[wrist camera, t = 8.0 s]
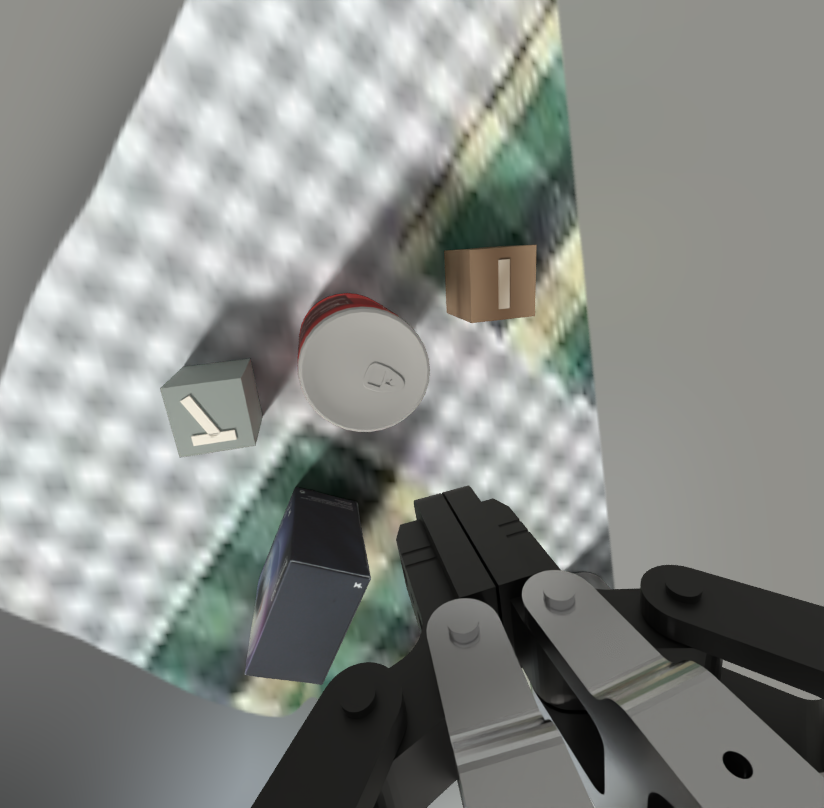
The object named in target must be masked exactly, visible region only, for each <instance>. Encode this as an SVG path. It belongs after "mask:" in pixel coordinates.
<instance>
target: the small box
mask: <svg viewBox="0 0 824 808" xmlns="http://www.w3.org/2000/svg"><path fill="white" fill-rule="evenodd" d="M370 580H371V576H370V571H369V565H368V559H367V554H366V550H365V544H364V539H363V534H362V528H361V523H360V517H359V510H358V503H357V502H356V501H355V502H354V501H353V500H346V499H343V498H338V497H334V496H330V495H326V494H323V493H319V492H316V491H314V490H309V489H303V488H299V487H296V488H295V489H294V491H293V493H292V496H291V499H290V501H289V504H288V506H287V509H286V511H285V514H284V516H283V519H282V521H281V524H280V526H279V529H278V531H277V534H276V536H275V539H274V541H273V544H272V547H271V549H270V552H269V554H268V557H267V559H266V562H265V565H264V567H263V570H262V572H261V575H260V577H259V582H258V588H257V595H256V602H255V608H254V615H253V622H252V628H251V635H250V642H249V649H248V655H247V662H246V669H245V675H249V676H256V677H264V678H272V679H280V680H289V681H297V682H306V683H313V684H320V685H322V684H323V682H324V680H325V678H326V676H327V674H328V672H329V669H330V667H331V665H332V663H333V661H334V659H335V656H336V654H337V652H338V650H339V648H340V645H341V643H342V641H343V639H344V637H345V635H346V632H347V630H348V628H349V626H350V624H351V621H352V619H353V617H354V615H355V613H356V611H357V608H358V606H359V604H360V602H361V600H362V597H363V595H364V593H365V591H366V589H367V586H368V584H369V582H370Z"/></svg>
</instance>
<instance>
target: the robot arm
mask: <svg viewBox="0 0 824 808" xmlns="http://www.w3.org/2000/svg"><path fill="white" fill-rule="evenodd" d="M414 508H415V513H416V518H417V520H416V521H412V522H409V523H405V524H402V525H400V527H399V531H398V535H397V539H396V541H397V545H398V550H399V555H400V559H401V564H402V569H403V573H404V578H405V583H406V587H407V590H408V594H409V597H410V600H411V603H412V607H413V610H414V613H415V616H416V619H417V623H418V626H419V629H420V632H421V635H420V638H419V640H418V642H417V644H416V645H415V647H414V648H413V650H412V651H411V652H410V653H409V654H408V655H407V656H405V657H404V658H403V659H402V660H400V661H399V662H397V663H396V664H395V665H393V666H392V667H390V668H387V667H386V666H384V665H381V664H378V663H371V662H366V663H360V664H356V665H353V666H351V667H348V668H347V669H345V670H343V671H342V672H340V673H339V674H338V675H337V676H335V677H334V678H333V679H332V681H331V682H330V683H329V684H328V686H327V687H326V688H325V690H324V691H323V693H322V695H321V696H320V698H319V699H318V701H317V703H316V704H315V706H314V707H313V709H312V711H311V712H310V714H309V716H308V717H307V719H306V720H305V722H304V723H303V725H302V727H301V729H300V730H299V731H298V733H297V735H296V736H295V738H294V739H293V741H292V743H291V744H290V746H289V748H288V749H287V751H286V752H285V754H284V755H283V757H282V759H281V760H280V762H279V764H278V765H277V767H276V768H275V770H274V772H273V773H272V775H271V776H270V778H269V780H268V781H267V783H266V784H265V786H264V788H263V789H262V791H261V792H260V794H259V796H258V797H257V799H256V800H255V802H254V804H253V805H252V807H251V808H427V807H428V806H429V805H430V804H431V803H432V802H433V801H434V800H435V799H436V798H437V797H438V796H439V795H441V794H442V793H443V792H444V791H445V790H446V789H447V788H448V787H449V786H450V785H451V784H452V783H454V782H455V781H456V780H457V782H458V787H459V791H460V796H461V800H462V805H463V808H594V806H595V808H824V607H823V606H819V605H816V604H813V603H809V602H806V601H802V600H799V599H795V598H792V597H788V596H785V595H781V594H778V593H774V592H771V591H768V590H764V589H761V588H757V587H754V586H750V585H747V584H744V583H740V582H736V581H733V580H730V579H726V578H723V577H719V576H716V575H712V574H709V573H706V572H702V571H699V570H695V569H692V568H688V567H684V566H678V565H662V566H657V567H654V568H652V569H650V570H648V571H647V572H646V573H645V574H644V575H643V577H642V579H641V588H640V589H613V590H611V589H610V588H609V586H608V585H607V584H606V583H605V582H604V581H603V580H602V579H601V578H600V577H599V576H597V575H595V574H592V573H588V572H580V573H574V574H573V573H570V572H567V571H562V570H560V568H559V567H558V566H557V565H556V564H555V562H554V561H553V560H552V559H551V557H550V556H549V555H548V554H547V553H546V551H545V550H544V549H543V548H542V546H541V545H540V544H539V543H538V542H537V540H536V539H535V538H534V537H533V535H532V534H531V533H530V532H528V530H527V528H526V527H525V526H524V524H523V523H522V522H520V521H519V518H518V517H517V516H516V515H515V513H514V512H513V511H512V510H511V509H510V507H508V506H507V505H505V504H503V503H501V502H499V501H497V500H495V499H490V500H486V501H482V502H481V501H480V499H479V498H478V497H477V495H476V494H475V493H474V491H473V490H472V488H471V487H470V486H465V487H461V488H457V489H454V490H450V491H446V492H443V493H442V494H441V493H440V494H436V495H432V496H429V497H425V498H421V499H418V500H414ZM723 660H725V661H728V662H731V663H733V664H736V665H738V666H741V667H744V668H746V669H749V670H751V671H754V672H757V673H759V674H762V675H764V676H767V677H770V678H772V679H775V680H777V681H780V682H783V683H785V684H788V685H790V686H793V687H795V688H798V689H801V690H803V691H806V692H808V693H811V694H813V695H816V696H818V697H820V698H822V699H820V700H806V699H802V698H799V697H796V696H794V695H791V694H789V693H786V692H784V691H781V690H778V689H776V688H774V687H771V686H768V685H766V684H764V683H761V682H758V681H756V680H753V679H751V678H748V677H746V676H743V675H741V674H738V673H736V672H733V671H731V670H728V669H726V668H723V667H722V663H723ZM521 668H523V669H524V671H525V673H526V675H527V677H528V679H529V681H530V685H531V689H530V687H529V685H528V683H527V680H526V678H525V676H524V673H523V671H522V669H521ZM589 797H590V798H589ZM590 799H591V800H590ZM591 801H592V802H593V804H594V806H593V804H592V802H591Z"/></svg>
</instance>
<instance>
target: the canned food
mask: <svg viewBox="0 0 824 808" xmlns="http://www.w3.org/2000/svg"><path fill="white" fill-rule="evenodd" d="M429 375H430V366H429V358H428V355H427V352H426V349H425V346H424V344H423V343H422V341H421V339H420V337H419V336H418V334H417V333H416V332H415V331H414V330H413V328H412V327H411V326H410V325H409V324H408V323H406V322H405V321H404V320H403V319H401V318H400V317H399V316H397V315H396V314H395V313H393V312H391V311H390V310H388V309H387V308H385V307H383V306H382V305H380V304H379V303H377V302H375V301H373V300H371V299H369V298H367V297H365V296H361V295H358V294H350V293H344V294H336V295H333V296H330V297H327V298H325V299H323V300H321V301H320V302H318V303H317V304H316V305H315V306H313V307H312V308H311V309H310V311H309V312H308V313H307V315H306V316H305V318H304V320H303V322H302V325H301V329H300V334H299V347H298V376H299V381H300V385H301V388H302V390H303V393H304V395H305V397H306V399H307V401H308V402H309V404H310V405H311V406H312V408H313V409H314V410H315V411H316V412H317V413H318V414H319V415H320V416H321V417H322V418H323V419H325V420H327V421H328V422H330V423H332V424H333V425H335V426H338V427H341V428H343V429H346V430H351V431H357V432H372V431H378V430H383V429H386V428H389V427H391V426H394V425H396V424H397V423H399V422H401V421H403V420H404V419H405V418H406V417H408V416H409V415H410V414H411V413H412V412H413V411H414V410H415V409H416V408H417V406H418V405H419V404H420V402H421V400H422V399H423V397H424V395H425V393H426V390H427V386H428V383H429Z"/></svg>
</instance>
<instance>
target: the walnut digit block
mask: <svg viewBox="0 0 824 808" xmlns="http://www.w3.org/2000/svg"><path fill="white" fill-rule="evenodd" d="M444 259H445V282H446V305H447V313H448V314H451V315H453V316H456V317H458V318H461V319H463V320H465V321H468V322H470V323H476V322H485V321H494V320H503V319H512V318H520V317H529V316H535V283H536V245H520V246H498V247H485V248H472V249H460V250H447V251H444Z"/></svg>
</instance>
